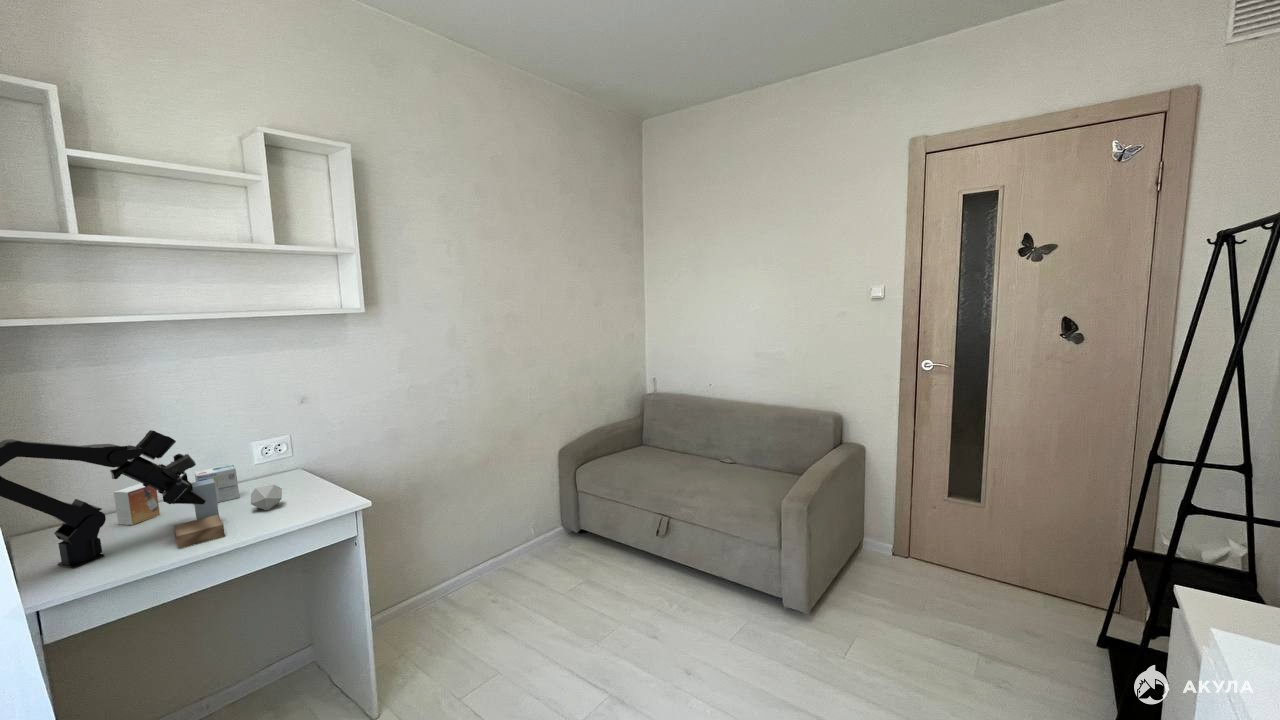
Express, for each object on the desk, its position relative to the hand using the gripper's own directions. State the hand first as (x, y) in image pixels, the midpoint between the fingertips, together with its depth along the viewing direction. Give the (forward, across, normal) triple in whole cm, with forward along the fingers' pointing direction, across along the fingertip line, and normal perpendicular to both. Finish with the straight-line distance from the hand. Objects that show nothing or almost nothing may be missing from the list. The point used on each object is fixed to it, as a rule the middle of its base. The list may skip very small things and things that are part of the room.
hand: (203, 498), depth 156 cm
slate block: (+6, 0, +6) cm, 8 cm away
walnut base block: (+4, -10, +8) cm, 13 cm away
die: (+17, +2, -5) cm, 18 cm away
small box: (-4, +20, +16) cm, 26 cm away
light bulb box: (+10, +22, +2) cm, 24 cm away
